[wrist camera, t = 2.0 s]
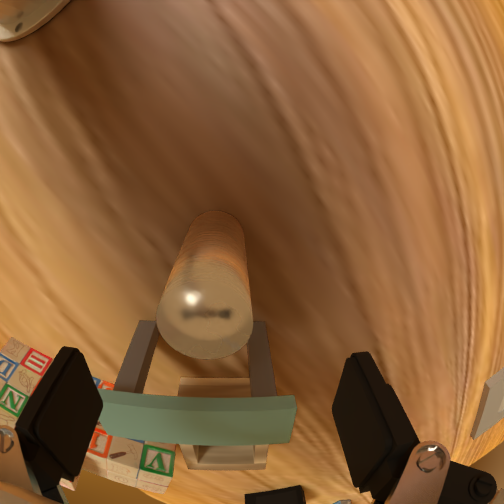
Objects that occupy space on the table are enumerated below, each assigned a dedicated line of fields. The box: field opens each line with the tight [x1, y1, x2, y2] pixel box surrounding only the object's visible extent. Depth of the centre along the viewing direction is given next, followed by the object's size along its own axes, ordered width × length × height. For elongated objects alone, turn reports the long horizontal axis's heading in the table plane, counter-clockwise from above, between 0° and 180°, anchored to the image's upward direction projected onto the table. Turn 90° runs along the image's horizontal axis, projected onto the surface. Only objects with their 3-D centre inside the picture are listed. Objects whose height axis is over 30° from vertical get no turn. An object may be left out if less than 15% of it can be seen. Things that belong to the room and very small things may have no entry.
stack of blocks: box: [0, 337, 176, 494], centre depth 21 cm, size 21×6×12 cm, turn 68°
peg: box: [156, 211, 253, 360], centre depth 16 cm, size 4×4×10 cm
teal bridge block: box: [97, 321, 297, 446], centre depth 19 cm, size 4×12×10 cm, turn 89°
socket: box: [178, 377, 269, 470], centre depth 25 cm, size 9×8×6 cm
